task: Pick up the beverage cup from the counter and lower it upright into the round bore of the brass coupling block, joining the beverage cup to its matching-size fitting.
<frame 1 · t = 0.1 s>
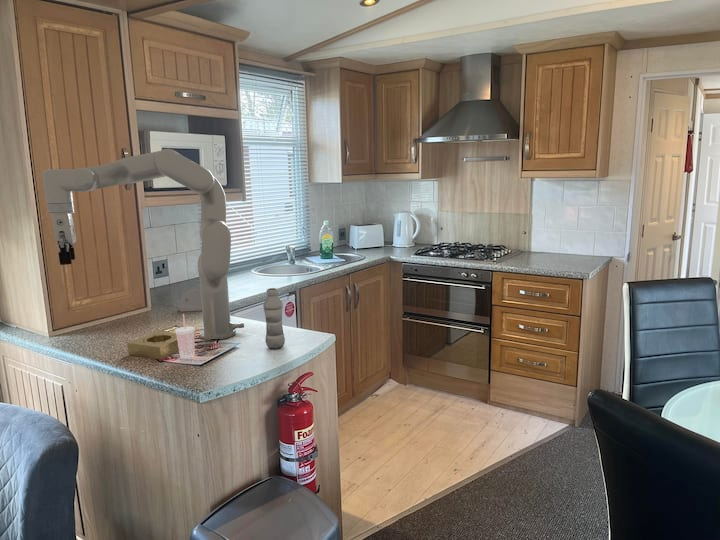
hand: (67, 262, 171), 31 cm above the worktop, tool pointing down, fingers open, 9 cm apart
coupling block: (160, 350, 178), on the worktop
beverage cup: (187, 356, 172), on the worktop
plastic bottle: (275, 347, 178), on the worktop
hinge: (200, 309, 232), on the worktop
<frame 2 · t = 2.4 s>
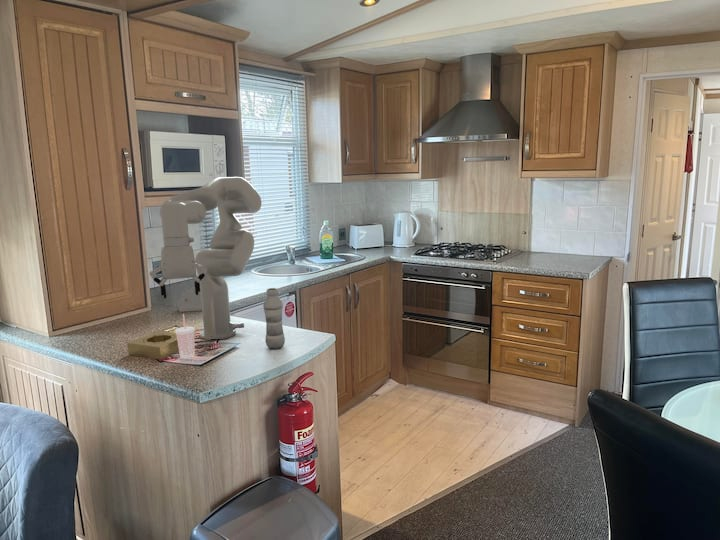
hand: (181, 295, 168), 20 cm above the worktop, tool pointing down, fingers open, 9 cm apart
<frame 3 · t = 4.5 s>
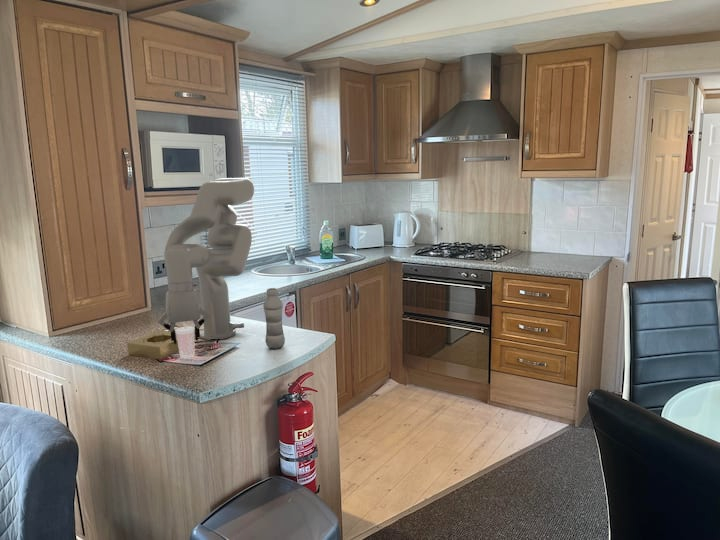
hand: (185, 340, 171), 5 cm above the worktop, tool pointing down, fingers closed on beverage cup, 6 cm apart
beverage cup: (187, 356, 172), on the worktop, touching gripper
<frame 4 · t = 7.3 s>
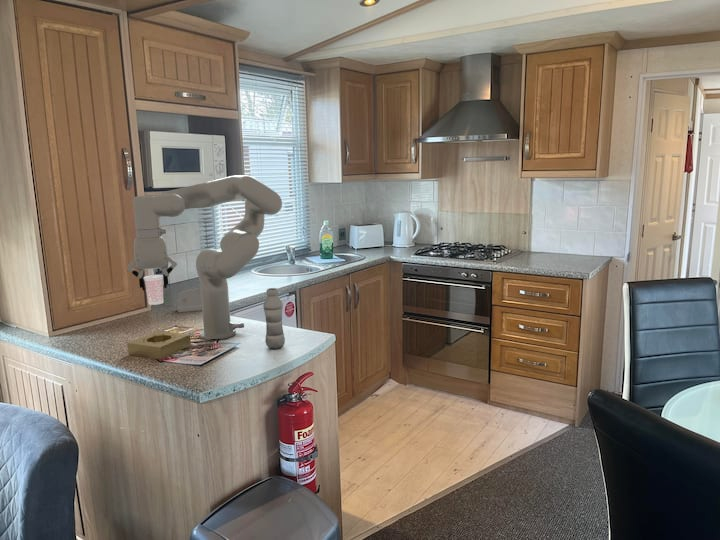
hand: (154, 288, 174), 21 cm above the worktop, tool pointing down, fingers closed on beverage cup, 6 cm apart
beverage cup: (156, 303, 175), point 16 cm above the worktop, touching gripper
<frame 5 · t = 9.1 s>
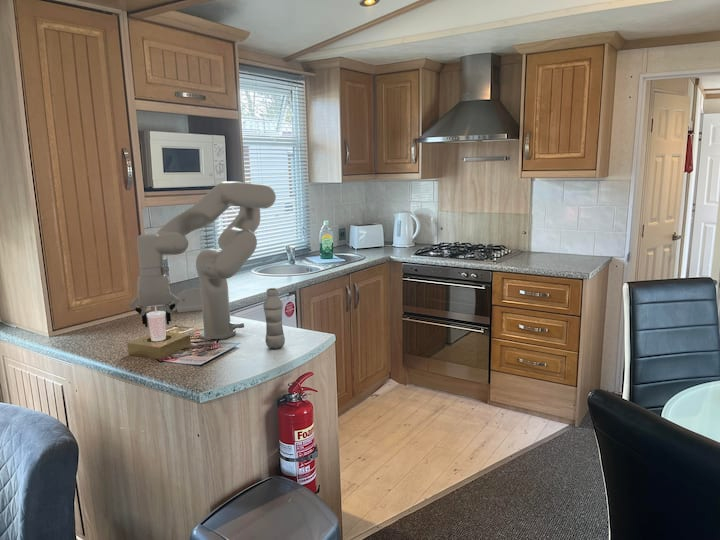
hand: (157, 324, 176), 9 cm above the worktop, tool pointing down, fingers closed on beverage cup, 6 cm apart
beverage cup: (158, 339, 177), point 4 cm above the worktop, touching gripper
when the fingers open (6 cm above the worktop, at t = 10.4 s): beverage cup drops 1 cm, resting in coupling block.
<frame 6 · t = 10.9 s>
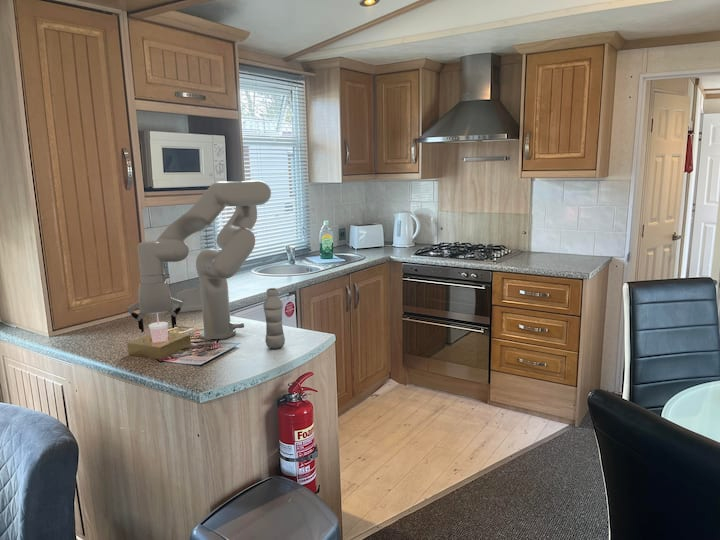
hand: (158, 329, 177), 7 cm above the worktop, tool pointing down, fingers open, 9 cm apart
beverage cup: (161, 350, 178), resting in coupling block
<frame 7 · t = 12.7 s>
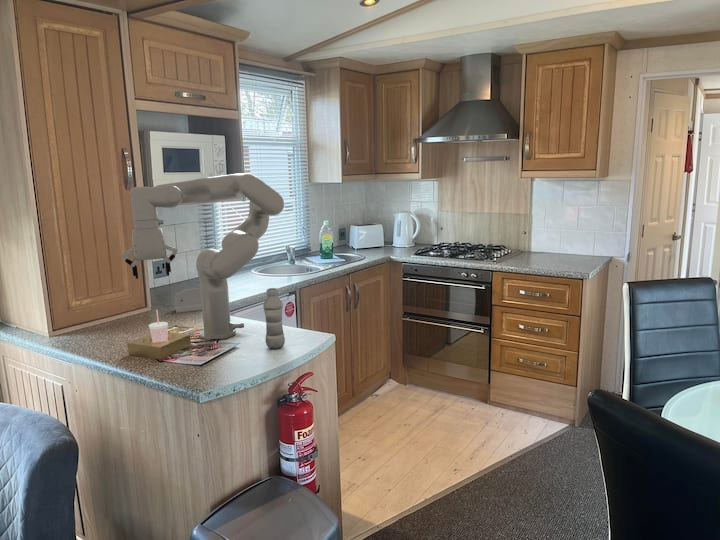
hand: (152, 276, 176), 25 cm above the worktop, tool pointing down, fingers open, 9 cm apart
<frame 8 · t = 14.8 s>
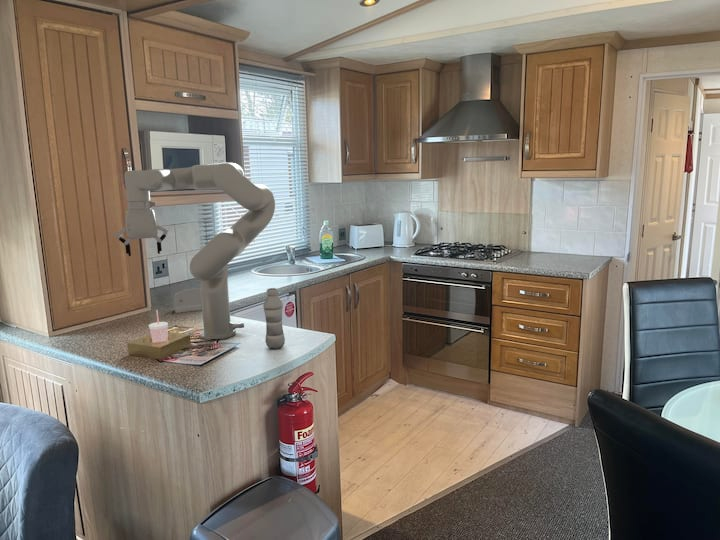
hand: (144, 254, 188), 30 cm above the worktop, tool pointing down, fingers open, 9 cm apart
at the end: beverage cup 0.2 cm off-centre on the coupling block, point 0.0 cm above the coupling block's base; beverage cup tilted 0°; the gripper is holding nothing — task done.
